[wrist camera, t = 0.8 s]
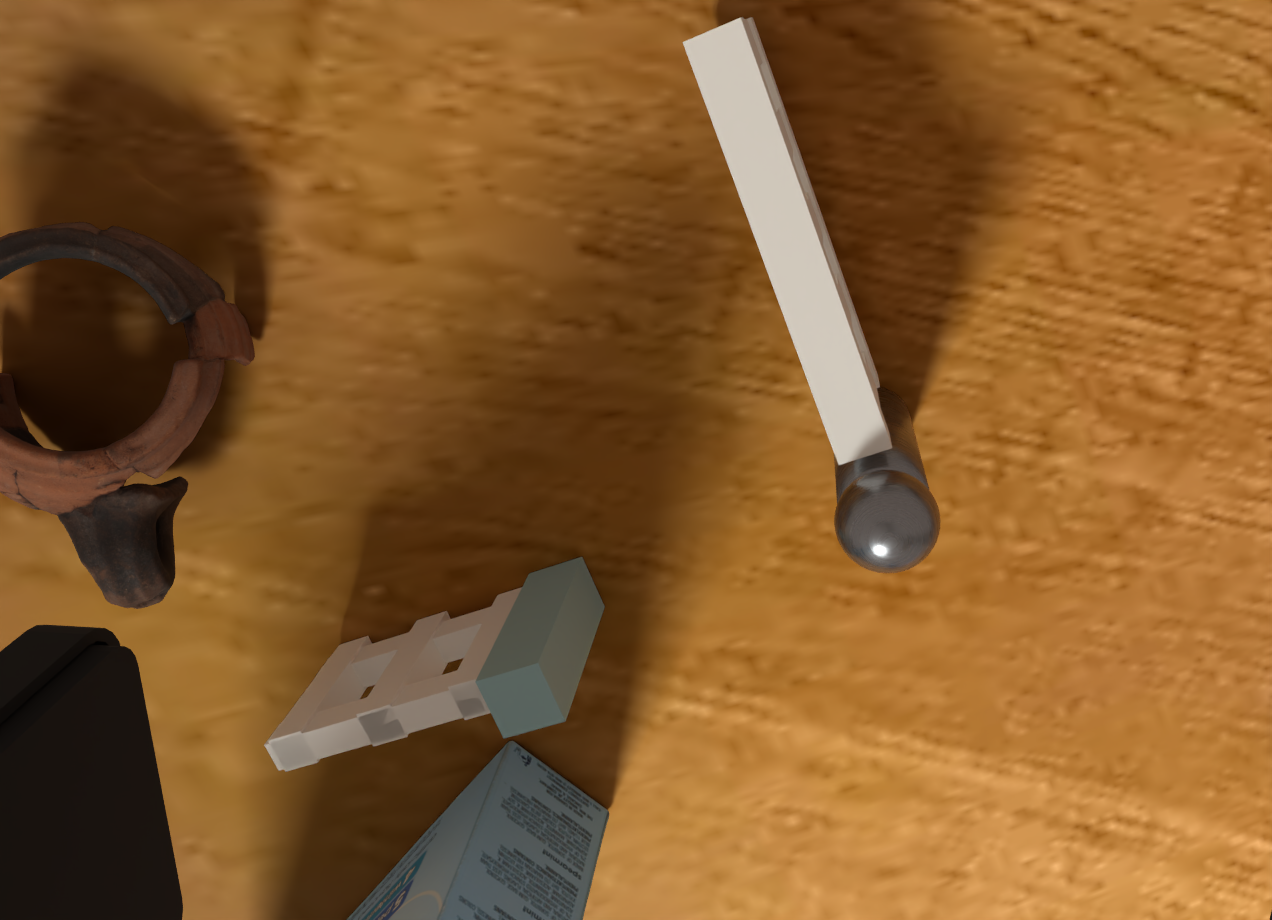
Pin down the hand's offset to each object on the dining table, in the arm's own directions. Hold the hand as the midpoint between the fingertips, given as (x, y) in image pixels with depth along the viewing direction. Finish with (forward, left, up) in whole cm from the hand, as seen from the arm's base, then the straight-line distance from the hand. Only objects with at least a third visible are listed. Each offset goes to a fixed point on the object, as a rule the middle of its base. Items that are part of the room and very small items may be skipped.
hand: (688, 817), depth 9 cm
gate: (-1, 0, -27) cm, 27 cm away
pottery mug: (+22, -2, -28) cm, 35 cm away
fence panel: (+16, +9, -27) cm, 33 cm away
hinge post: (-1, +7, -27) cm, 28 cm away
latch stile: (+11, +9, -27) cm, 31 cm away
